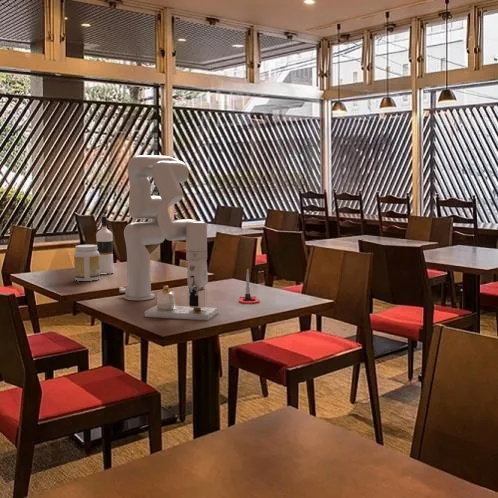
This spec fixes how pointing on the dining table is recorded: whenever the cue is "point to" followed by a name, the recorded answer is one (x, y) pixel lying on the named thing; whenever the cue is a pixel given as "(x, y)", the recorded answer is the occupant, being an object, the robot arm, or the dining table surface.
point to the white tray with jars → (177, 308)
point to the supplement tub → (86, 263)
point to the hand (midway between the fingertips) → (197, 303)
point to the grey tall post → (248, 293)
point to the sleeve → (200, 298)
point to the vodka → (105, 248)
